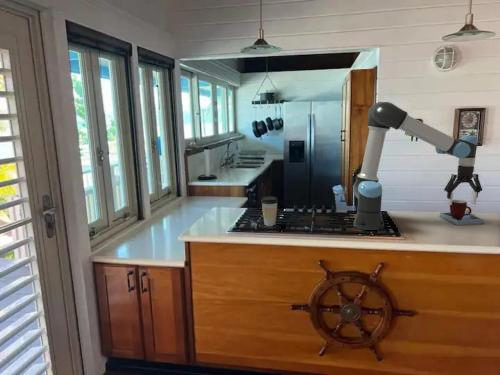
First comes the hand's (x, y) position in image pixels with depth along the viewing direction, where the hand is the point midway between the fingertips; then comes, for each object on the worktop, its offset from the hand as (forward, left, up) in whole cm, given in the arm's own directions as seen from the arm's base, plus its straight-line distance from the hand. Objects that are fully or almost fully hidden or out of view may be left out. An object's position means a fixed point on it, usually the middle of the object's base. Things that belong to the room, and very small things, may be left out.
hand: (461, 204), depth 203 cm
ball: (+10, +10, -9) cm, 17 cm away
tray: (0, 0, -9) cm, 9 cm away
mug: (-1, 0, -9) cm, 9 cm away
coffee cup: (-104, +10, -9) cm, 104 cm away
